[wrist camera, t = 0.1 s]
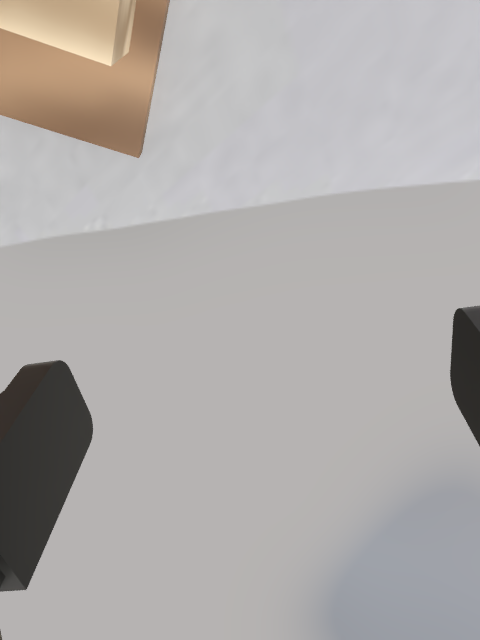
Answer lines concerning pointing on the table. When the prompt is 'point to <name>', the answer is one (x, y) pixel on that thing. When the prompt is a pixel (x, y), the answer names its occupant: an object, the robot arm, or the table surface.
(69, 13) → the twin stand
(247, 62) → the table surface
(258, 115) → the table surface
